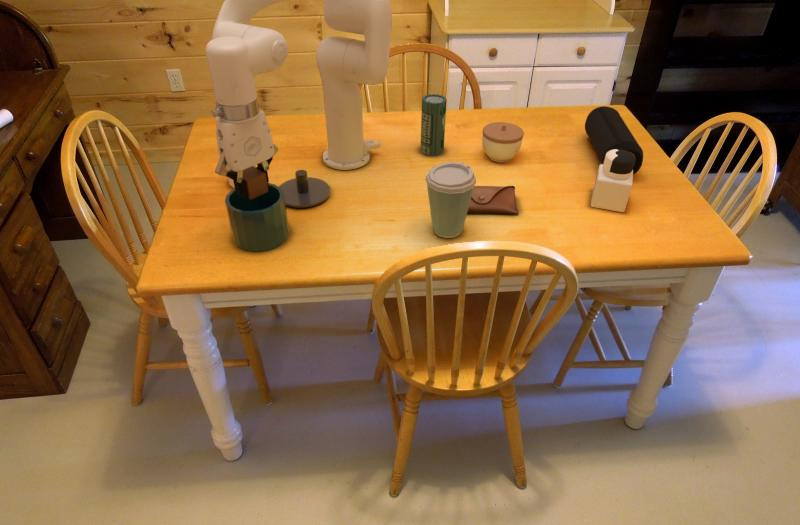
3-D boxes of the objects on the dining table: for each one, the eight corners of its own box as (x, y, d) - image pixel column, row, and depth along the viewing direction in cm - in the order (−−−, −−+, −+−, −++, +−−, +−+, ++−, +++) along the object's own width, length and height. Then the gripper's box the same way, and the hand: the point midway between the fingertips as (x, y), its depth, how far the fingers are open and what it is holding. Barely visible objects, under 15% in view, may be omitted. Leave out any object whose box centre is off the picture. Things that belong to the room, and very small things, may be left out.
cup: (279, 214, 130) (274, 177, 124) (296, 243, 122) (291, 204, 115) (228, 227, 126) (219, 189, 120) (241, 258, 118) (232, 218, 111)
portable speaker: (639, 182, 143) (651, 146, 137) (600, 181, 143) (610, 145, 137) (613, 136, 163) (622, 103, 156) (579, 135, 163) (586, 102, 157)
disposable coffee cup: (436, 248, 121) (439, 189, 111) (415, 222, 128) (417, 164, 119) (479, 237, 124) (486, 178, 114) (456, 212, 132) (461, 154, 122)
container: (625, 196, 137) (639, 148, 129) (624, 213, 132) (639, 164, 124) (592, 190, 139) (605, 143, 131) (590, 207, 134) (603, 158, 126)
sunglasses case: (444, 214, 130) (444, 185, 129) (440, 213, 137) (440, 185, 136) (521, 214, 130) (521, 185, 129) (514, 212, 137) (514, 184, 136)
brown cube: (256, 184, 119) (252, 165, 116) (268, 191, 117) (265, 173, 114) (238, 191, 117) (234, 173, 114) (250, 200, 114) (247, 181, 111)
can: (447, 152, 154) (450, 100, 145) (429, 158, 152) (432, 105, 142) (434, 143, 158) (436, 92, 149) (416, 149, 155) (418, 97, 146)
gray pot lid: (319, 176, 144) (317, 155, 140) (338, 201, 135) (336, 179, 131) (270, 188, 139) (266, 166, 135) (286, 215, 130) (282, 192, 126)
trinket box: (508, 145, 158) (512, 113, 152) (526, 163, 150) (532, 131, 144) (473, 150, 155) (476, 119, 149) (490, 169, 147) (494, 136, 141)
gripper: (209, 128, 98) (228, 214, 110) (286, 100, 108) (296, 182, 119) (187, 115, 102) (207, 200, 114) (263, 89, 112) (275, 170, 123)
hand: (253, 190), depth 116 cm, fingers closed on brown cube, 4 cm apart
